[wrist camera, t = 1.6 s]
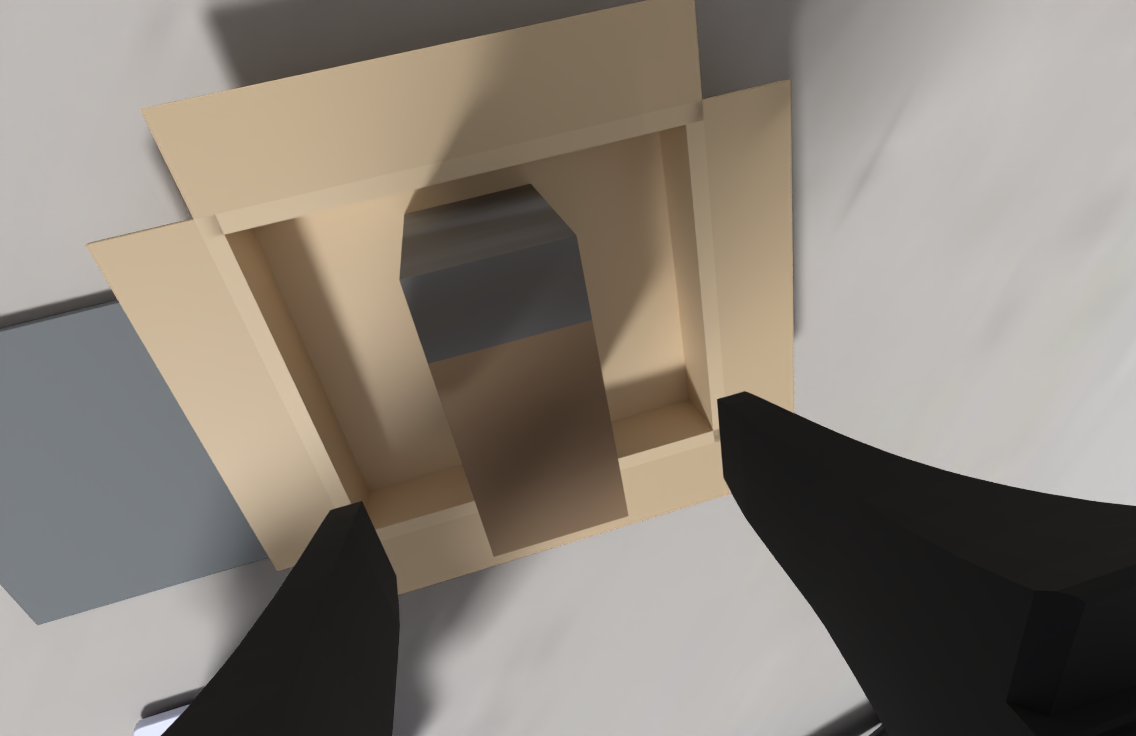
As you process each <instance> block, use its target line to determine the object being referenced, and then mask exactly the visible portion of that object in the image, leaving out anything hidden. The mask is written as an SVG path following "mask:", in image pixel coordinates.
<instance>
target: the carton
mask: <svg viewBox="0 0 1136 736" xmlns="http://www.w3.org/2000/svg"><path fill="white" fill-rule="evenodd" d="M140 111H141V113H142V115H143V117H144V119H145V121H146V123H147V125H148V127H149V129H150V131H151V133H152V135H153V137H154V139H155V141H156V143H157V145H158V148H159V150H160V152H161V154H162V156H163V158H164V160H165V162H166V164H167V166H168V168H169V170H170V172H171V174H172V176H173V178H174V180H175V182H176V184H177V186H178V188H179V190H180V192H181V195H182V197H183V199H184V201H185V203H186V205H187V207H188V209H189V211H190V213H191V215H192V217H193V219H188V220H184V221H180V222H176V223H171V224H167V225H163V226H159V227H154V228H150V229H146V230H142V231H137V232H133V233H129V234H125V235H120V236H116V237H112V238H107V239H103V240H99V241H95V242H90V243H88V244H86V247H87V249H88V250H89V252H90V254H91V255H92V257H93V259H94V261H95V262H96V264H97V266H98V267H99V269H100V271H101V272H102V274H103V276H104V278H105V279H106V281H107V283H108V284H109V286H110V288H111V289H112V291H113V293H114V295H115V296H116V298H117V300H118V301H119V303H120V305H121V306H122V308H123V310H124V312H125V313H126V315H127V317H128V318H129V320H130V322H131V323H132V325H133V327H134V329H135V330H136V332H137V334H138V335H139V337H140V339H141V340H142V342H143V344H144V346H145V347H146V349H147V351H148V352H149V354H150V356H151V357H152V359H153V361H154V363H155V364H156V366H157V368H158V369H159V371H160V373H161V375H162V376H163V378H164V380H165V381H166V383H167V385H168V386H169V388H170V390H171V392H172V393H173V395H174V397H175V398H176V400H177V402H178V403H179V405H180V407H181V409H182V410H183V412H184V414H185V415H186V417H187V419H188V420H189V422H190V424H191V426H192V427H193V429H194V431H195V432H196V434H197V436H198V437H199V439H200V441H201V443H202V444H203V446H204V448H205V449H206V451H207V453H208V454H209V456H210V458H211V460H212V461H213V463H214V465H215V466H216V468H217V470H218V471H219V473H220V475H221V477H222V478H223V480H224V482H225V483H226V485H227V487H228V489H229V490H230V492H231V494H232V495H233V497H234V499H235V500H236V502H237V504H238V506H239V507H240V509H241V511H242V512H243V514H244V516H245V517H246V519H247V521H248V523H249V524H250V526H251V528H252V529H253V531H254V533H255V534H256V536H257V538H258V540H259V541H260V543H261V545H262V546H263V548H264V550H265V551H266V553H267V555H268V557H269V558H270V560H271V562H272V563H273V565H274V567H275V568H276V570H277V572H278V571H281V570H284V569H288V568H291V567H294V566H295V564H296V563H297V561H298V560H299V558H300V556H301V555H302V553H303V552H304V550H305V549H306V547H307V545H308V544H309V542H310V541H311V539H312V537H313V536H314V534H315V533H316V531H317V530H318V528H319V526H320V525H321V523H322V522H323V520H324V519H325V517H326V516H327V514H328V513H329V511H330V510H332V509H335V508H339V507H342V506H346V505H349V504H353V503H356V502H360V501H362V502H363V504H364V506H365V508H366V510H367V513H368V515H369V517H370V519H371V521H372V524H373V526H374V528H375V530H376V532H377V534H378V537H379V539H380V541H381V543H382V545H383V548H384V550H385V552H386V554H387V556H388V558H389V561H390V563H391V565H392V567H393V569H394V572H395V574H396V576H397V589H398V595H401V594H404V593H407V592H410V591H414V590H417V589H420V588H424V587H427V586H430V585H433V584H437V583H440V582H443V581H447V580H450V579H453V578H456V577H460V576H463V575H466V574H469V573H473V572H476V571H479V570H483V569H486V568H489V567H492V566H496V565H499V564H502V563H506V562H509V561H512V560H515V559H519V558H522V557H525V556H528V555H532V554H535V553H538V552H542V551H545V550H548V549H551V548H555V547H558V546H561V545H565V544H568V543H571V542H574V541H578V540H581V539H584V538H587V537H591V536H594V535H597V534H601V533H604V532H607V531H610V530H614V529H617V528H620V527H623V526H627V525H630V524H633V523H637V522H640V521H643V520H646V519H650V518H653V517H656V516H660V515H663V514H666V513H669V512H673V511H676V510H679V509H682V508H686V507H689V506H692V505H696V504H699V503H702V502H705V501H709V500H712V499H715V498H719V497H722V496H725V495H728V494H732V493H731V491H730V489H729V487H728V486H727V484H726V482H725V480H724V478H723V468H722V456H721V443H720V431H719V419H718V407H717V399H719V398H723V397H726V396H730V395H733V394H737V393H740V392H743V391H746V392H749V393H751V394H754V395H756V396H758V397H760V398H763V399H765V400H767V401H769V402H771V403H773V404H775V405H778V406H780V407H782V408H784V409H786V410H788V411H790V412H793V413H794V338H793V247H792V157H791V80H790V79H786V80H781V81H777V82H773V83H769V84H764V85H760V86H756V87H752V88H747V89H743V90H739V91H735V92H730V93H726V94H722V95H717V96H713V97H709V98H705V99H702V90H701V77H700V64H699V51H698V37H697V24H696V11H695V0H645V1H640V2H636V3H631V4H626V5H622V6H617V7H612V8H608V9H603V10H599V11H594V12H589V13H585V14H580V15H575V16H571V17H566V18H561V19H557V20H552V21H547V22H543V23H538V24H533V25H529V26H524V27H519V28H515V29H510V30H505V31H501V32H496V33H492V34H487V35H482V36H478V37H473V38H468V39H464V40H459V41H454V42H450V43H445V44H440V45H436V46H431V47H426V48H422V49H417V50H412V51H408V52H403V53H399V54H394V55H389V56H385V57H380V58H375V59H371V60H366V61H361V62H357V63H352V64H347V65H343V66H338V67H333V68H329V69H324V70H319V71H315V72H310V73H305V74H301V75H296V76H292V77H287V78H282V79H278V80H273V81H268V82H264V83H259V84H254V85H250V86H245V87H240V88H236V89H231V90H226V91H222V92H217V93H212V94H208V95H203V96H198V97H194V98H189V99H185V100H180V101H175V102H171V103H166V104H161V105H157V106H152V107H147V108H143V109H140ZM527 184H532V186H533V187H534V188H535V189H536V190H537V191H538V192H539V193H540V195H541V196H542V197H543V198H544V199H545V200H546V201H547V203H548V204H549V205H550V206H551V207H552V208H553V209H554V210H555V212H556V213H557V214H558V215H559V216H560V217H561V218H562V219H563V221H564V222H565V223H566V224H567V225H568V226H569V227H570V228H571V230H572V231H573V232H574V233H575V234H576V235H577V240H578V246H579V251H580V257H581V262H582V267H583V273H584V278H585V284H586V289H587V294H588V300H589V305H590V310H591V316H592V321H593V327H594V332H595V337H596V343H597V348H598V354H599V359H600V364H601V370H602V375H603V380H604V386H605V391H606V397H607V402H608V407H609V413H610V418H611V424H612V429H613V434H614V440H615V445H616V450H617V456H618V461H619V467H620V472H621V477H622V483H623V488H624V494H625V499H626V504H627V510H628V515H629V516H627V517H624V518H621V519H617V520H614V521H611V522H607V523H604V524H601V525H598V526H594V527H591V528H588V529H584V530H581V531H578V532H575V533H571V534H568V535H565V536H561V537H558V538H555V539H551V540H548V541H545V542H542V543H538V544H535V545H532V546H528V547H525V548H522V549H519V550H515V551H512V552H509V553H505V554H502V555H499V556H495V557H494V556H493V553H492V550H491V547H490V544H489V542H488V539H487V536H486V533H485V530H484V527H483V524H482V521H481V518H480V515H479V512H478V509H477V506H476V503H475V501H474V498H473V495H472V492H471V489H470V486H469V483H468V480H467V477H466V474H465V471H464V468H463V465H462V462H461V460H460V457H459V454H458V451H457V448H456V445H455V442H454V439H453V436H452V433H451V430H450V427H449V424H448V421H447V419H446V416H445V413H444V410H443V407H442V404H441V401H440V398H439V395H438V392H437V389H436V386H435V383H434V380H433V378H432V375H431V372H430V369H429V366H428V363H427V360H426V357H425V354H424V351H423V348H422V345H421V342H420V339H419V337H418V334H417V331H416V328H415V325H414V322H413V319H412V316H411V313H410V310H409V307H408V304H407V301H406V298H405V296H404V293H403V290H402V287H401V284H400V281H399V277H400V263H401V250H402V237H403V223H404V214H407V213H411V212H415V211H420V210H424V209H428V208H432V207H436V206H440V205H444V204H449V203H453V202H457V201H461V200H465V199H469V198H473V197H477V196H482V195H486V194H490V193H494V192H498V191H502V190H506V189H511V188H515V187H519V186H523V185H527Z"/></svg>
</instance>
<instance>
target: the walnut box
mask: <svg viewBox="0 0 1136 736" xmlns="http://www.w3.org/2000/svg"><path fill="white" fill-rule="evenodd" d="M399 281H400V284H401V287H402V290H403V293H404V296H405V298H406V301H407V304H408V307H409V310H410V313H411V316H412V319H413V322H414V325H415V328H416V331H417V334H418V337H419V339H420V342H421V345H422V348H423V351H424V354H425V357H426V360H427V363H428V366H429V369H430V372H431V375H432V378H433V380H434V383H435V386H436V389H437V392H438V395H439V398H440V401H441V404H442V407H443V410H444V413H445V416H446V419H447V421H448V424H449V427H450V430H451V433H452V436H453V439H454V442H455V445H456V448H457V451H458V454H459V457H460V460H461V462H462V465H463V468H464V471H465V474H466V477H467V480H468V483H469V486H470V489H471V492H472V495H473V498H474V501H475V503H476V506H477V509H478V512H479V515H480V518H481V521H482V524H483V527H484V530H485V533H486V536H487V539H488V542H489V544H490V547H491V550H492V553H493V556H494V557H495V556H499V555H502V554H505V553H509V552H512V551H515V550H519V549H522V548H525V547H528V546H532V545H535V544H538V543H542V542H545V541H548V540H551V539H555V538H558V537H561V536H565V535H568V534H571V533H575V532H578V531H581V530H584V529H588V528H591V527H594V526H598V525H601V524H604V523H607V522H611V521H614V520H617V519H621V518H624V517H627V516H629V515H628V510H627V504H626V499H625V494H624V488H623V483H622V477H621V472H620V467H619V461H618V456H617V450H616V445H615V440H614V434H613V429H612V424H611V418H610V413H609V407H608V402H607V397H606V391H605V386H604V380H603V375H602V370H601V364H600V359H599V354H598V348H597V343H596V337H595V332H594V327H593V321H592V316H591V310H590V305H589V300H588V294H587V289H586V284H585V278H584V273H583V267H582V262H581V257H580V251H579V246H578V240H577V235H576V234H575V233H574V232H573V231H572V230H571V228H570V227H569V226H568V225H567V224H566V223H565V222H564V221H563V219H562V218H561V217H560V216H559V215H558V214H557V213H556V212H555V210H554V209H553V208H552V207H551V206H550V205H549V204H548V203H547V201H546V200H545V199H544V198H543V197H542V196H541V195H540V193H539V192H538V191H537V190H536V189H535V188H534V187H533V186H532V184H527V185H523V186H519V187H515V188H511V189H506V190H502V191H498V192H494V193H490V194H486V195H482V196H477V197H473V198H469V199H465V200H461V201H457V202H453V203H449V204H444V205H440V206H436V207H432V208H428V209H424V210H420V211H415V212H411V213H407V214H404V223H403V237H402V250H401V263H400V277H399Z"/></svg>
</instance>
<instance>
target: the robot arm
mask: <svg viewBox="0 0 1136 736" xmlns="http://www.w3.org/2000/svg"><path fill="white" fill-rule="evenodd" d="M717 407H718V419H719V431H720V443H721V456H722V468H723V478H724V480H725V482H726V484H727V486H728V487H729V489H730V491H731V493H732V495H733V497H734V499H735V500H736V502H737V504H738V506H739V507H740V509H741V511H742V513H743V514H744V516H745V518H746V519H747V521H748V522H749V523H750V525H751V526H752V528H753V529H754V530H755V532H756V533H757V534H758V536H759V537H760V538H761V540H762V541H763V543H764V544H765V545H766V547H767V548H768V549H769V551H770V552H771V553H772V555H773V556H774V557H775V559H776V560H777V561H778V563H779V564H780V565H781V567H782V568H783V569H784V571H785V572H786V573H787V575H788V576H789V577H790V579H791V580H792V581H793V583H794V584H795V585H796V587H797V588H798V589H799V591H800V592H801V593H802V595H803V596H804V597H805V599H806V600H807V601H808V603H809V604H810V605H811V607H812V608H813V610H814V611H815V613H816V614H817V616H818V617H819V618H820V620H821V621H822V623H823V624H824V626H825V627H826V629H827V631H828V632H829V634H830V636H831V637H832V639H833V641H834V642H835V644H836V646H837V647H838V649H839V651H840V652H841V654H842V656H843V657H844V659H845V661H846V662H847V664H848V666H849V667H850V669H851V671H852V672H853V674H854V676H855V677H856V679H857V681H858V683H859V684H860V686H861V688H862V690H863V691H864V693H865V695H866V697H867V698H868V700H869V702H870V703H871V705H872V707H873V709H874V710H875V712H876V714H877V716H878V717H879V719H880V721H881V723H882V725H883V726H884V728H885V730H886V732H887V734H888V735H889V736H1136V506H1130V505H1122V504H1113V503H1104V502H1096V501H1089V500H1083V499H1077V498H1071V497H1065V496H1059V495H1053V494H1047V493H1041V492H1036V491H1031V490H1026V489H1021V488H1016V487H1011V486H1006V485H1002V484H998V483H993V482H989V481H985V480H980V479H976V478H972V477H968V476H964V475H960V474H956V473H953V472H949V471H945V470H942V469H939V468H935V467H932V466H929V465H925V464H922V463H919V462H916V461H912V460H909V459H906V458H903V457H900V456H897V455H894V454H891V453H888V452H886V451H883V450H880V449H878V448H875V447H872V446H870V445H867V444H865V443H862V442H859V441H857V440H854V439H852V438H849V437H847V436H844V435H842V434H840V433H837V432H835V431H833V430H830V429H828V428H826V427H823V426H821V425H819V424H817V423H814V422H812V421H810V420H808V419H806V418H803V417H801V416H799V415H797V414H795V413H793V412H790V411H788V410H786V409H784V408H782V407H780V406H778V405H775V404H773V403H771V402H769V401H767V400H765V399H763V398H760V397H758V396H756V395H754V394H751V393H749V392H746V391H743V392H740V393H737V394H733V395H730V396H726V397H723V398H719V399H717ZM399 628H400V623H399V603H398V589H397V576H396V574H395V572H394V569H393V567H392V565H391V563H390V561H389V558H388V556H387V554H386V552H385V550H384V548H383V545H382V543H381V541H380V539H379V537H378V534H377V532H376V530H375V528H374V526H373V524H372V521H371V519H370V517H369V515H368V513H367V510H366V508H365V506H364V504H363V502H362V501H360V502H356V503H353V504H349V505H346V506H342V507H339V508H335V509H332V510H330V511H329V513H328V514H327V516H326V517H325V519H324V520H323V522H322V523H321V525H320V526H319V528H318V530H317V531H316V533H315V534H314V536H313V537H312V539H311V541H310V542H309V544H308V545H307V547H306V549H305V550H304V552H303V553H302V555H301V556H300V558H299V560H298V561H297V563H296V564H295V566H294V568H293V569H292V571H291V572H290V574H289V575H288V577H287V578H286V580H285V581H284V583H283V584H282V586H281V587H280V589H279V590H278V592H277V593H276V595H275V596H274V598H273V599H272V601H271V602H270V603H269V605H268V606H267V608H266V609H265V610H264V612H263V613H262V614H261V616H260V617H259V619H258V620H257V621H256V623H255V624H254V626H253V627H252V628H251V630H250V631H249V632H248V634H247V635H246V637H245V638H244V639H243V641H242V642H241V644H240V645H239V646H238V647H237V649H236V650H235V651H234V653H233V654H232V655H231V656H230V658H229V659H228V660H227V661H226V663H225V664H224V665H223V666H222V668H221V669H220V670H219V671H218V672H217V674H216V675H215V676H214V677H213V678H212V679H211V681H210V682H209V683H208V684H207V685H206V687H205V688H204V689H203V690H202V691H201V692H200V694H199V695H198V696H197V697H196V698H195V699H194V701H193V702H192V703H191V704H189V705H186V706H182V707H179V708H176V709H173V710H170V711H166V712H163V713H160V714H157V715H154V716H150V717H147V718H144V719H142V720H140V721H139V722H138V723H137V724H136V726H135V729H134V731H133V735H134V736H392V730H393V716H394V702H395V688H396V675H397V660H398V645H399Z"/></svg>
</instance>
